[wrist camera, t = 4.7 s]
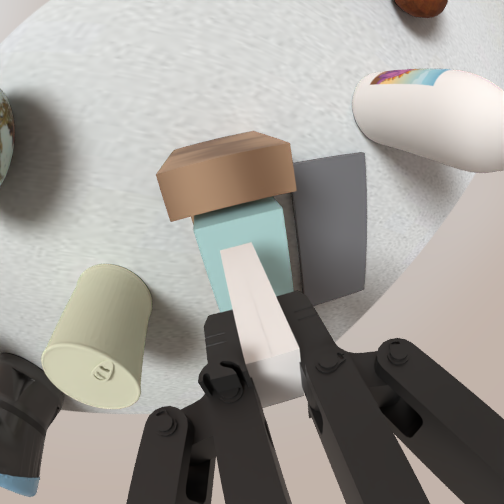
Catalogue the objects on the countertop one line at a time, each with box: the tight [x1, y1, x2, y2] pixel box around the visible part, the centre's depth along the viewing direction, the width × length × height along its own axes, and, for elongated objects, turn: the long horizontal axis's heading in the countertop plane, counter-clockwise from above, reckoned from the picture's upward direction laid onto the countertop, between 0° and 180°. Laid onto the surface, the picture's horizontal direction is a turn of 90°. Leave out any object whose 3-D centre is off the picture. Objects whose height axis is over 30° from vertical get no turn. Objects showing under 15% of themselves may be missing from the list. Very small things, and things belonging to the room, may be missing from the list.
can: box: [41, 264, 152, 409], centre depth 22 cm, size 9×9×12 cm
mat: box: [291, 152, 367, 306], centre depth 28 cm, size 8×17×1 cm, turn 11°
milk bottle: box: [352, 69, 504, 173], centre depth 14 cm, size 8×8×20 cm
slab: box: [194, 196, 294, 313], centre depth 20 cm, size 5×15×4 cm, turn 11°
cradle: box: [156, 131, 297, 225], centre depth 23 cm, size 7×22×10 cm, turn 11°
